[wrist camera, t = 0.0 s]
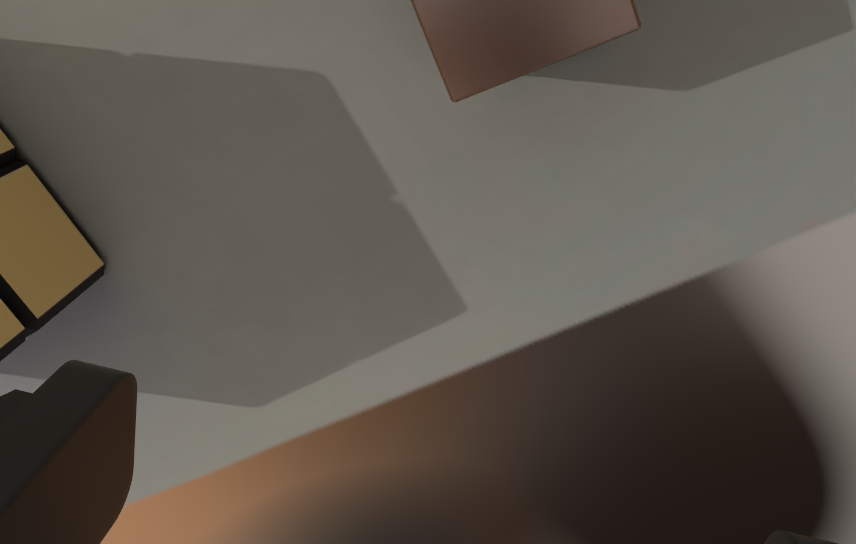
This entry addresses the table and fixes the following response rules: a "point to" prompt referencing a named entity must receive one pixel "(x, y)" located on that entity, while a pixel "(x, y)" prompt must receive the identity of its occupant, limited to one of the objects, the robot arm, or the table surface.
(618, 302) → the table surface
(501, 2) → the walnut block
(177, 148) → the table surface
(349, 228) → the table surface
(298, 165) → the table surface
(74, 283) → the puzzle cube
